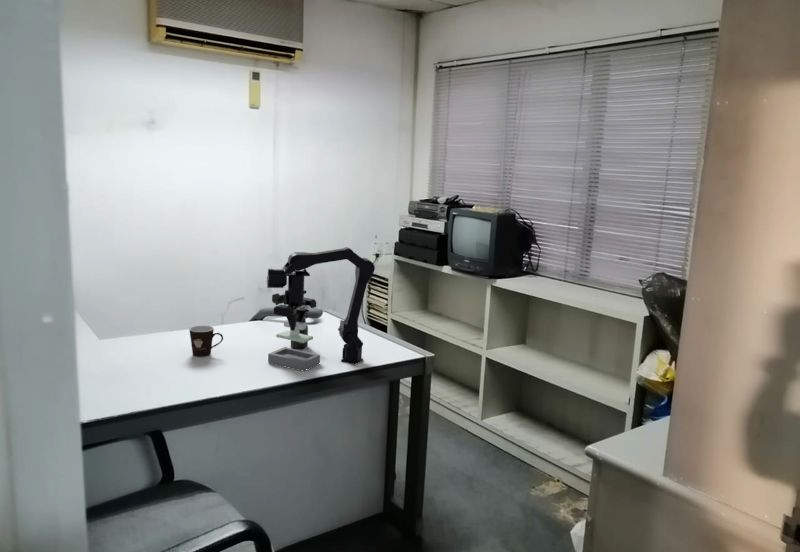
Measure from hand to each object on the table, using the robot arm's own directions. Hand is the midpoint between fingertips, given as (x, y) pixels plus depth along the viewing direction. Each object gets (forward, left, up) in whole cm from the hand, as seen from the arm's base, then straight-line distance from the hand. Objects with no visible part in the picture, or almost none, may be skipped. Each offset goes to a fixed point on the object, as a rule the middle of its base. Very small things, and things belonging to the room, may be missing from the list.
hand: (294, 329), depth 220 cm
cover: (0, 0, -3) cm, 3 cm away
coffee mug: (+32, +12, -13) cm, 37 cm away
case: (0, 0, -13) cm, 13 cm away
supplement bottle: (+10, -17, -13) cm, 24 cm away
